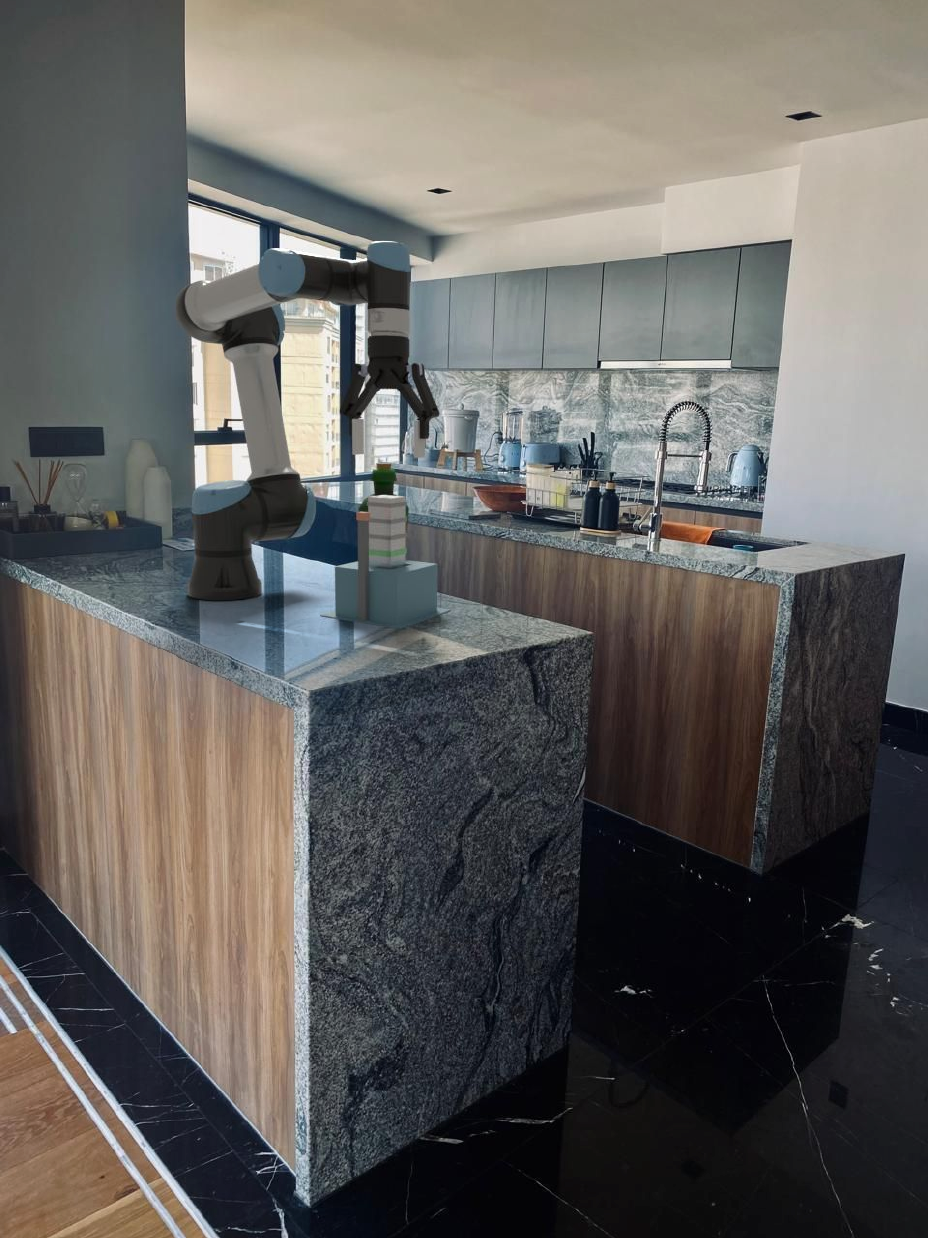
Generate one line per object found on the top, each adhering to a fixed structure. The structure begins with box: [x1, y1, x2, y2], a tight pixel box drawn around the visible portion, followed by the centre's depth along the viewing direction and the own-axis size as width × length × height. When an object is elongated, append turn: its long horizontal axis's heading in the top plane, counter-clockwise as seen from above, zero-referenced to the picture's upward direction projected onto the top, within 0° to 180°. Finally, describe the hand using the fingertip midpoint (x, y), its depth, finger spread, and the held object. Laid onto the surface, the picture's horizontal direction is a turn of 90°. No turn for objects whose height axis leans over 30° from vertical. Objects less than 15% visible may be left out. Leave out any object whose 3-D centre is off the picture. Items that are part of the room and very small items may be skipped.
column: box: [367, 495, 408, 570], centre depth 166 cm, size 5×5×22 cm
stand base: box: [320, 511, 452, 630], centre depth 166 cm, size 18×18×21 cm
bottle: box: [358, 462, 410, 560], centre depth 183 cm, size 11×11×28 cm
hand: (388, 456), depth 162 cm, fingers open, 13 cm apart
